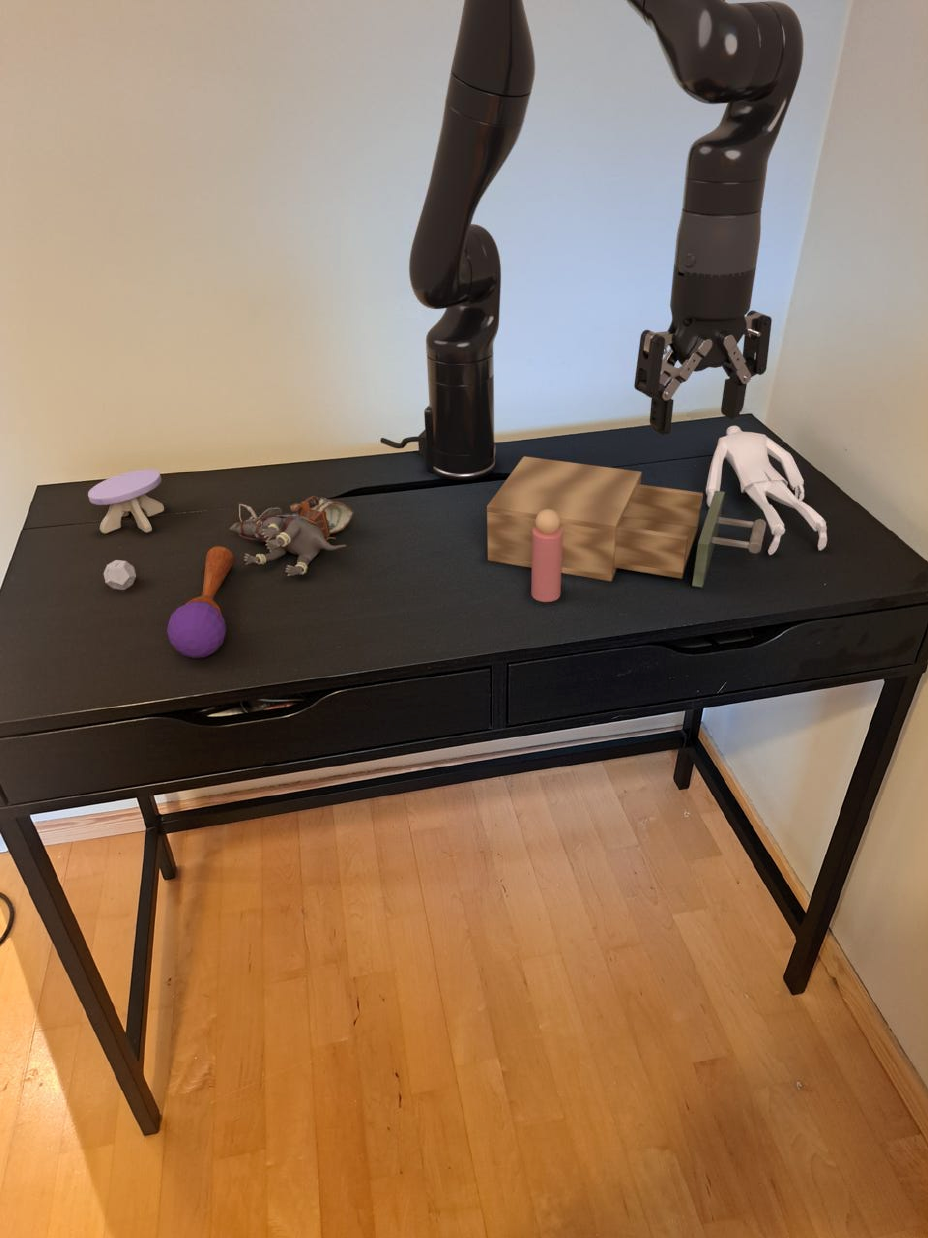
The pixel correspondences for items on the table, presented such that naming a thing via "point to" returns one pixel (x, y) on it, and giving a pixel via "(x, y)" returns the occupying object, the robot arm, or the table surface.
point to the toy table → (127, 498)
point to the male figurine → (763, 479)
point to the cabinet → (561, 513)
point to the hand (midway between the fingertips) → (695, 423)
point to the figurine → (295, 530)
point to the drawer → (674, 532)
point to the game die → (119, 575)
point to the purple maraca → (202, 611)
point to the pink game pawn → (546, 556)
